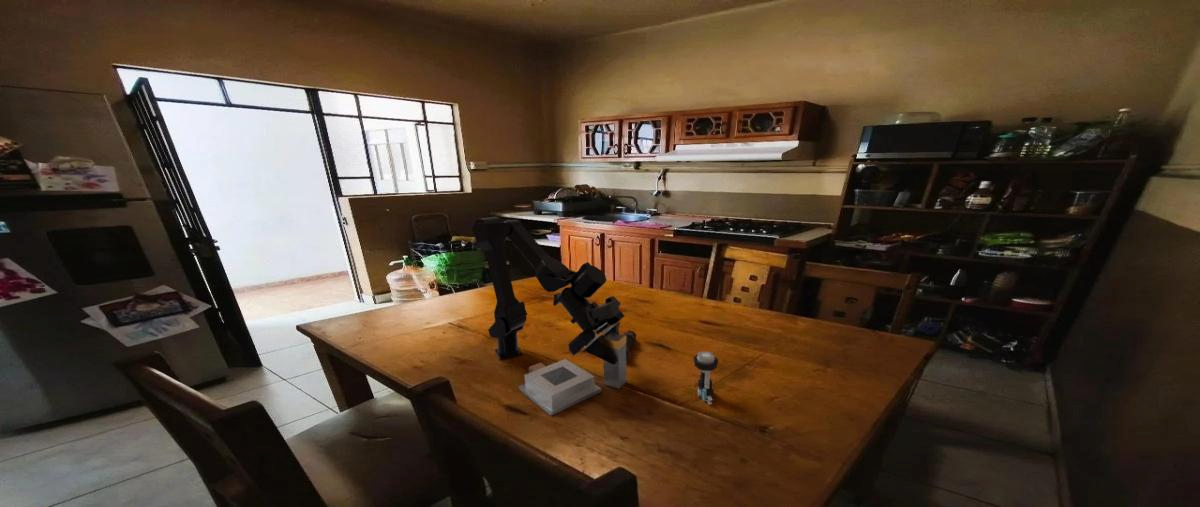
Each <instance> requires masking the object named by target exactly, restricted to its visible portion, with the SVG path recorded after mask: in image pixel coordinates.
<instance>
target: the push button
mask: <svg viewBox="0 0 1200 507" xmlns="http://www.w3.org/2000/svg"><path fill="white" fill-rule="evenodd" d="M692 359H693V362H694V367H696V368H697V369H698V370H699V371H700V374H699V379H697V380H698V381H697V396H698V397H701V399H702V401H703V402H707V404H708V405H713V403H712V401H713V398H714V389H713V381H712V379H711V377H710V376H711V372H712V371H714V370H716V369H717V368H718V364H719V359H718V358H717V357H716V356H715V355H714V353H712V352H710V351H699V352H698V353H697V354H695V355H694V356H693V358H692Z"/></svg>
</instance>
